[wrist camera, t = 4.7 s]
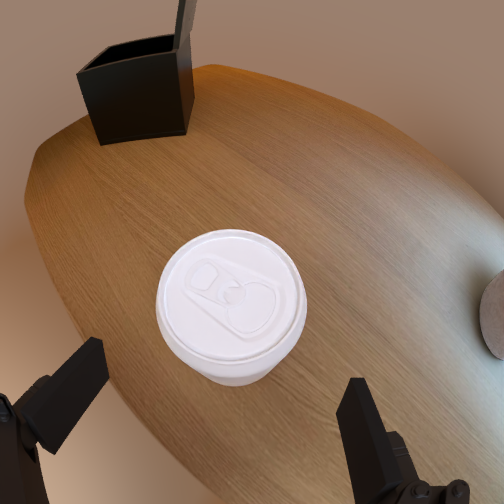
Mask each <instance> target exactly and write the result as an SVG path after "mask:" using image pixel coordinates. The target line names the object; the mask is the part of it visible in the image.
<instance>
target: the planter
mask: <svg viewBox="0 0 504 504" xmlns="http://www.w3.org/2000/svg"><path fill="white" fill-rule="evenodd" d="M480 326H481V331H482V334H483V337H484V340H485V342H486V344H487V346H488V348H489V349H490V351H491V352H492V353H493V354H494V355H495V356H496V357H497V358H499V359H501V360H504V269H503V270H502V271H501V272H500V273H499V274H498V275H497V276H496V277H495V278H494V279H493V280H492V281H491V282H490V283H489V285H488V286H487V287H486V289H485V291H484V293H483V295H482V299H481V303H480Z"/></svg>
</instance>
